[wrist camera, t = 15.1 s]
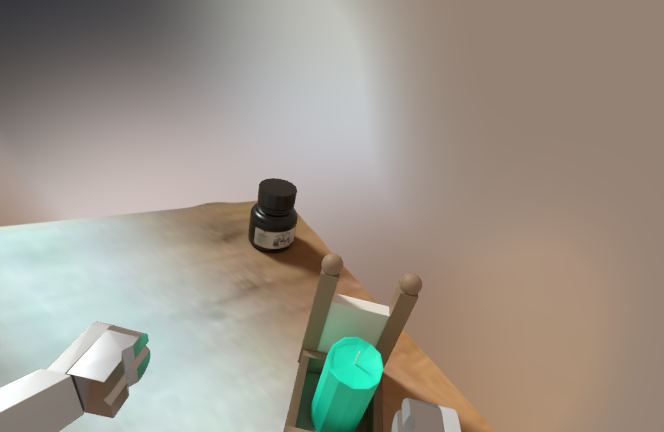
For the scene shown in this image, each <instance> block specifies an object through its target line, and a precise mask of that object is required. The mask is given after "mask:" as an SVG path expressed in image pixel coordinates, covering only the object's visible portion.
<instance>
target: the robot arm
mask: <svg viewBox="0 0 664 432" xmlns="http://www.w3.org/2000/svg"><path fill="white" fill-rule="evenodd" d="M148 341H149V340H148V335H147V334H145V333H141V332H137V331H133V330H129V329H125V328H121V327H117V326H115V325H111V324H106V323H102V322H98V321H97V322H95V323H93V324H92V325H90V326H89V327H88V328H87V329H86V330H85V331H84V332H83V333H82V334H81V335H80V336H79V337H78V338H77V339H76V340H75V341H74V342H73V343H72V344H71V345H70V346H69V347H68V348H67V349H66V350H65V351H64V352H63V353H62V354H61V355H60V356H59V357H58V358H57V359H56V361H55V362H54V363H53V364H52V365H51V366H50V367H49V368H48V369H43V368H41V369H39V370H37V371H35V372H33V373H31V374H29V375H27V376H24V377H22V378H20V379H18V380H16V381H14V382H12V383H10V384H8V385H6V386H4V387H2V388H0V432H59V431H60V430H62V429H63V428H65V427H66V426H67V425H69V424H70V423H72V422H73V421H75V420H76V419H77V418H79V417H80V416H82V415H83V414H84V412H86V413H91V414H96V415H100V416H105V417H110V418H114V417H115V415H116V414H117V412H118V411H119V409H120V408H121V406H122V405H123V404H124V402H125V401H126V399H127V398H128V396H129V387H130V386H132V385H133V384H135V383H137V382H138V381H139V380H140V378H141V377H142V375H143V374H144V372H145V370H146V368H147V366H148V363H149V360H150V350H149V349H148V348H147V346H146V344H147V342H148ZM391 432H461V428H460V423H459V418H458V414H457V412H456V411H455V410H454V409H452V408H448V407H443V406H439V405H437V404H432V403H428V402H423V401H419V400H414V399H410V398H405V399H404V400H403V402H402V409H401V410H398V411H397V412H396V414H395V416H394V419H393V423H392V431H391Z"/></svg>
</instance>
